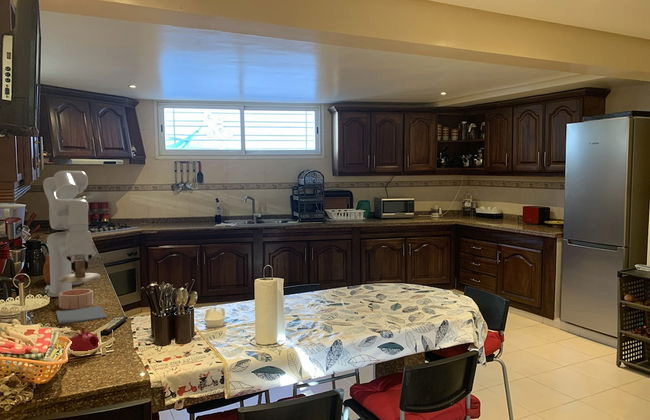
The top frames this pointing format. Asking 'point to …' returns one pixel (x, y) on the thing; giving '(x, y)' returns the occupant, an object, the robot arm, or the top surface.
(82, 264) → the lid
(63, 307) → the bowl
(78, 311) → the mat
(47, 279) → the bread
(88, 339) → the pomegranate
